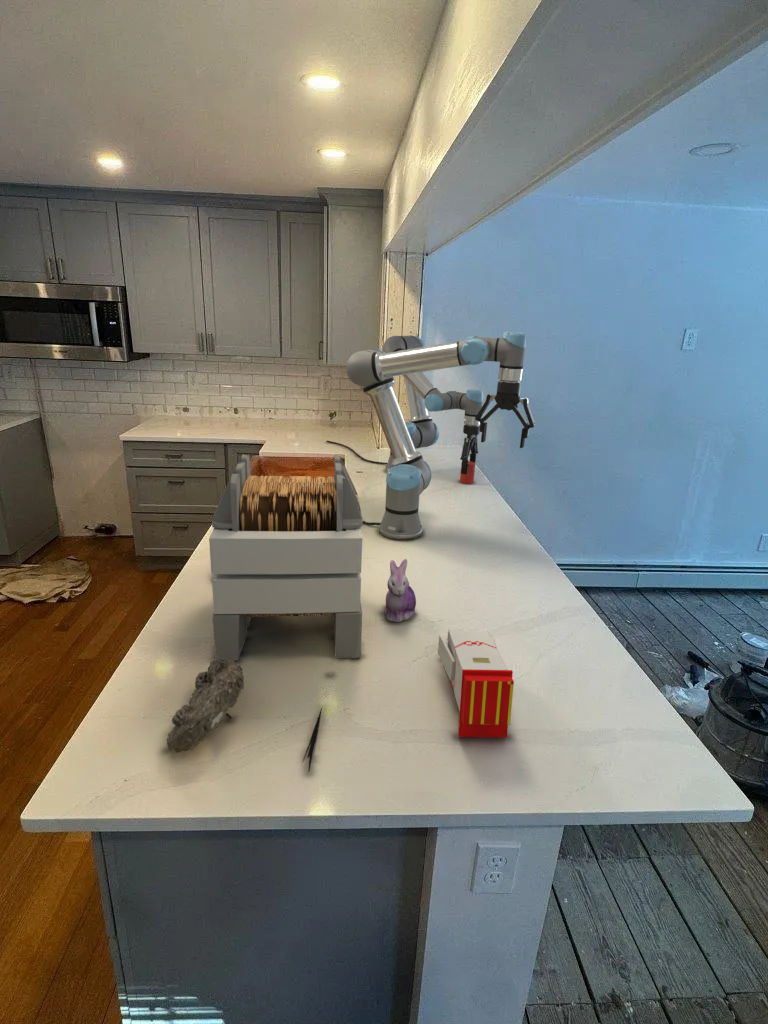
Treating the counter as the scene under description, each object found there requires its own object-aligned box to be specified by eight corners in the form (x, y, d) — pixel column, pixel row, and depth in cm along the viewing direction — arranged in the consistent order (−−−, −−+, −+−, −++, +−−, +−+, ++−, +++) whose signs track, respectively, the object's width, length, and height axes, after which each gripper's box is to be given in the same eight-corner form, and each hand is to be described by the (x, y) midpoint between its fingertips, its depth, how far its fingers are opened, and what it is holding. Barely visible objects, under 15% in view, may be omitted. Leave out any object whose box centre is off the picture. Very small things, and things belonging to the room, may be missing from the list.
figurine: (392, 627, 141) (395, 572, 136) (374, 608, 149) (376, 556, 144) (425, 619, 145) (429, 566, 140) (405, 601, 154) (408, 550, 149)
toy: (488, 613, 130) (523, 677, 101) (484, 667, 133) (517, 744, 104) (435, 612, 130) (455, 676, 101) (432, 666, 133) (451, 743, 103)
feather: (331, 679, 122) (336, 673, 122) (307, 777, 96) (313, 769, 95) (324, 675, 122) (329, 669, 121) (298, 772, 95) (304, 764, 95)
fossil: (192, 660, 117) (244, 628, 112) (224, 691, 120) (276, 661, 115) (142, 746, 98) (202, 712, 93) (182, 779, 101) (242, 748, 96)
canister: (463, 484, 261) (464, 464, 258) (457, 480, 266) (459, 461, 263) (475, 483, 262) (477, 464, 259) (470, 479, 268) (472, 460, 265)
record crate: (234, 590, 156) (226, 444, 142) (353, 588, 159) (357, 447, 146) (212, 662, 124) (200, 485, 110) (361, 659, 128) (367, 486, 114)
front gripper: (550, 383, 185) (541, 447, 192) (477, 376, 195) (471, 437, 202) (545, 386, 178) (536, 451, 186) (469, 378, 189) (463, 441, 196)
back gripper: (472, 430, 243) (468, 478, 250) (487, 421, 265) (482, 465, 272) (456, 428, 246) (452, 475, 253) (471, 419, 268) (467, 463, 275)
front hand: (502, 444), depth 194 cm, fingers open, 13 cm apart
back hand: (468, 470), depth 262 cm, fingers open, 13 cm apart
